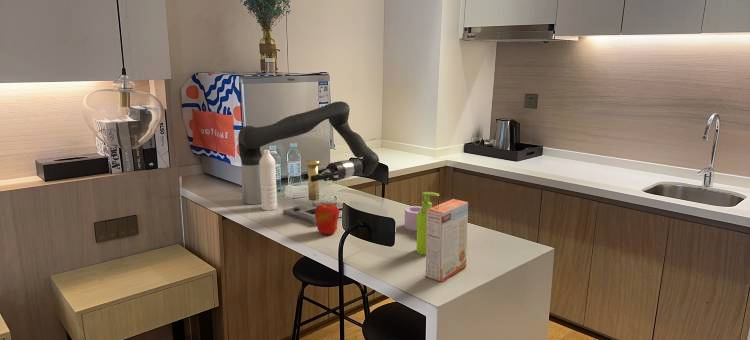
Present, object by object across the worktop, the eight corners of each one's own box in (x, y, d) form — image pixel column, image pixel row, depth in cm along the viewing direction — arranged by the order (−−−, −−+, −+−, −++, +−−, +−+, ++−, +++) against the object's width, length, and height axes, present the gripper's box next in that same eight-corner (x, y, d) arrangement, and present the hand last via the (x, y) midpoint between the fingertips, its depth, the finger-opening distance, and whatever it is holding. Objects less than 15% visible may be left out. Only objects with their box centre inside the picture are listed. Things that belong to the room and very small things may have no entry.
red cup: (310, 234, 181) (310, 203, 179) (323, 227, 189) (323, 197, 186) (331, 238, 177) (330, 206, 175) (343, 231, 185) (343, 200, 182)
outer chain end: (297, 218, 199) (296, 209, 198) (314, 213, 205) (314, 204, 204) (318, 226, 190) (318, 217, 189) (336, 220, 197) (336, 211, 196)
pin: (303, 199, 197) (302, 161, 194) (314, 196, 201) (313, 158, 197) (313, 202, 193) (311, 163, 190) (324, 198, 197) (322, 160, 194)
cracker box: (450, 262, 157) (452, 197, 153) (466, 267, 153) (469, 201, 149) (423, 276, 147) (425, 208, 142) (441, 283, 143) (443, 212, 138)
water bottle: (258, 208, 212) (255, 150, 206) (270, 205, 216) (267, 147, 211) (272, 212, 206) (269, 152, 201) (284, 208, 211) (281, 150, 206)
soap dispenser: (436, 255, 163) (438, 195, 158) (415, 253, 164) (416, 194, 159) (438, 248, 168) (440, 191, 164) (417, 247, 169) (418, 189, 165)
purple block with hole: (398, 229, 187) (398, 211, 186) (416, 220, 197) (416, 203, 195) (446, 241, 176) (446, 222, 174) (462, 231, 185) (463, 213, 184)
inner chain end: (283, 213, 205) (283, 208, 204) (300, 208, 211) (300, 204, 211) (313, 224, 192) (313, 219, 192) (331, 218, 199) (330, 213, 198)
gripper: (328, 158, 209) (295, 165, 197) (352, 163, 199) (319, 171, 187) (329, 176, 211) (296, 184, 199) (352, 182, 201) (319, 190, 189)
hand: (307, 178), depth 193 cm, fingers closed on pin, 4 cm apart
